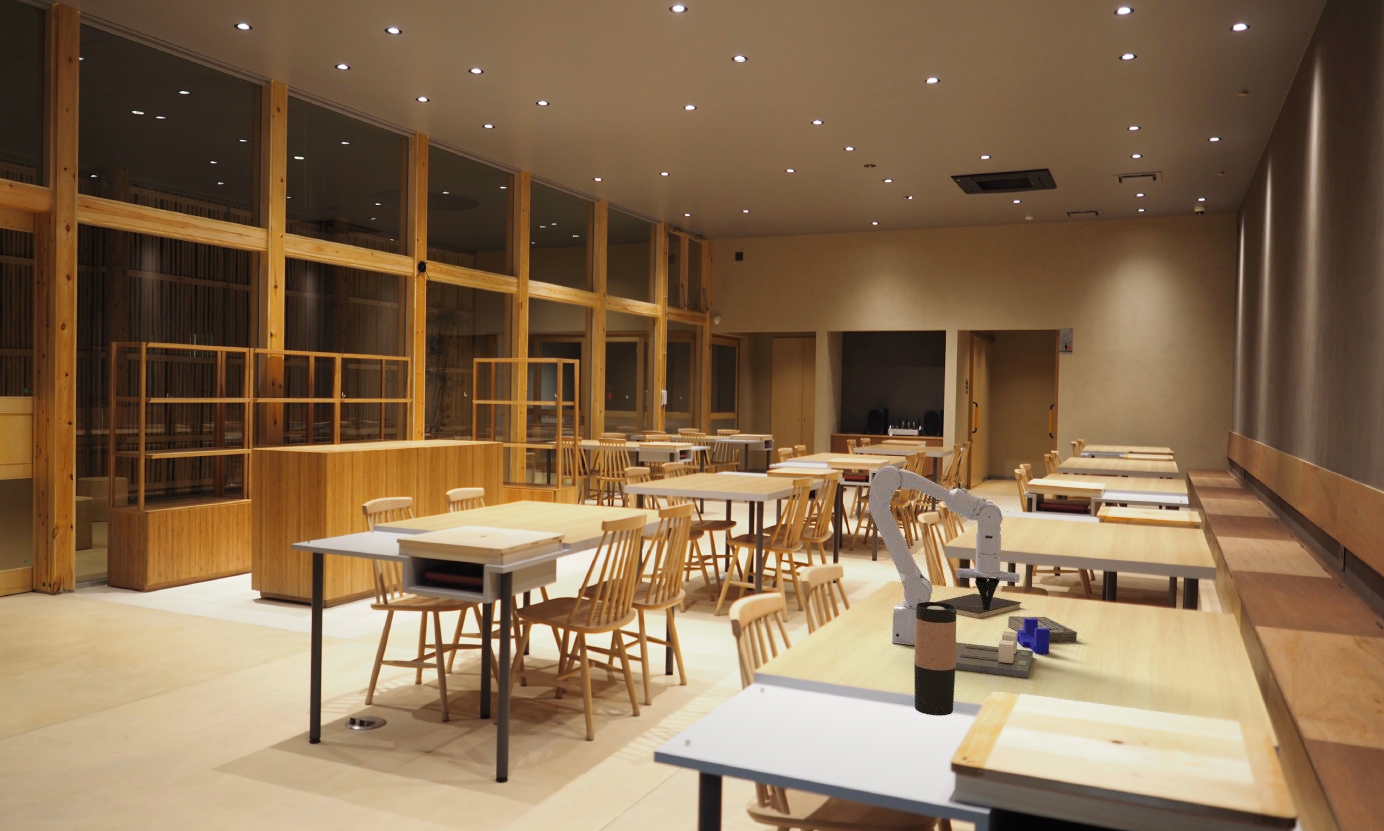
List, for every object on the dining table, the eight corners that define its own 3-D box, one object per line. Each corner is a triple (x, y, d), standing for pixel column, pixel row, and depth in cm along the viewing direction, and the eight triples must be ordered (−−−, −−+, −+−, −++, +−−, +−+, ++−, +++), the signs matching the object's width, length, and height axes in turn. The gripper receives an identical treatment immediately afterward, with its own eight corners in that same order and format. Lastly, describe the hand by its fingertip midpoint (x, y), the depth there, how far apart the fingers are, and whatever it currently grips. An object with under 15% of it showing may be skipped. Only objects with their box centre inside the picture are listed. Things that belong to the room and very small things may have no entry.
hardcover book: (1021, 610, 282) (1021, 602, 282) (978, 620, 266) (978, 612, 266) (972, 600, 293) (972, 593, 293) (928, 610, 278) (929, 602, 278)
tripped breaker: (998, 661, 215) (998, 643, 215) (1000, 657, 219) (1000, 639, 219) (1012, 663, 214) (1012, 645, 214) (1013, 659, 218) (1014, 641, 218)
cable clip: (1017, 641, 242) (1017, 617, 242) (1035, 642, 241) (1036, 618, 241) (1029, 654, 230) (1030, 629, 230) (1048, 655, 229) (1049, 629, 229)
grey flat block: (1044, 627, 259) (1045, 616, 259) (1077, 644, 242) (1078, 631, 242) (1006, 627, 258) (1006, 615, 258) (1036, 643, 240) (1037, 631, 240)
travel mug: (908, 703, 189) (910, 601, 189) (946, 703, 190) (948, 601, 190) (920, 716, 182) (923, 610, 181) (960, 716, 182) (963, 610, 182)
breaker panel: (941, 667, 216) (942, 660, 215) (953, 648, 233) (953, 641, 233) (1027, 678, 209) (1027, 670, 208) (1032, 657, 226) (1033, 650, 226)
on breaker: (1001, 652, 223) (1002, 635, 223) (1003, 648, 227) (1003, 631, 227) (1015, 653, 222) (1015, 636, 222) (1016, 649, 226) (1017, 632, 226)
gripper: (954, 553, 232) (953, 609, 232) (1018, 558, 227) (1016, 615, 227) (958, 549, 239) (957, 604, 239) (1020, 553, 233) (1019, 610, 233)
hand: (986, 609), depth 233 cm, fingers closed
